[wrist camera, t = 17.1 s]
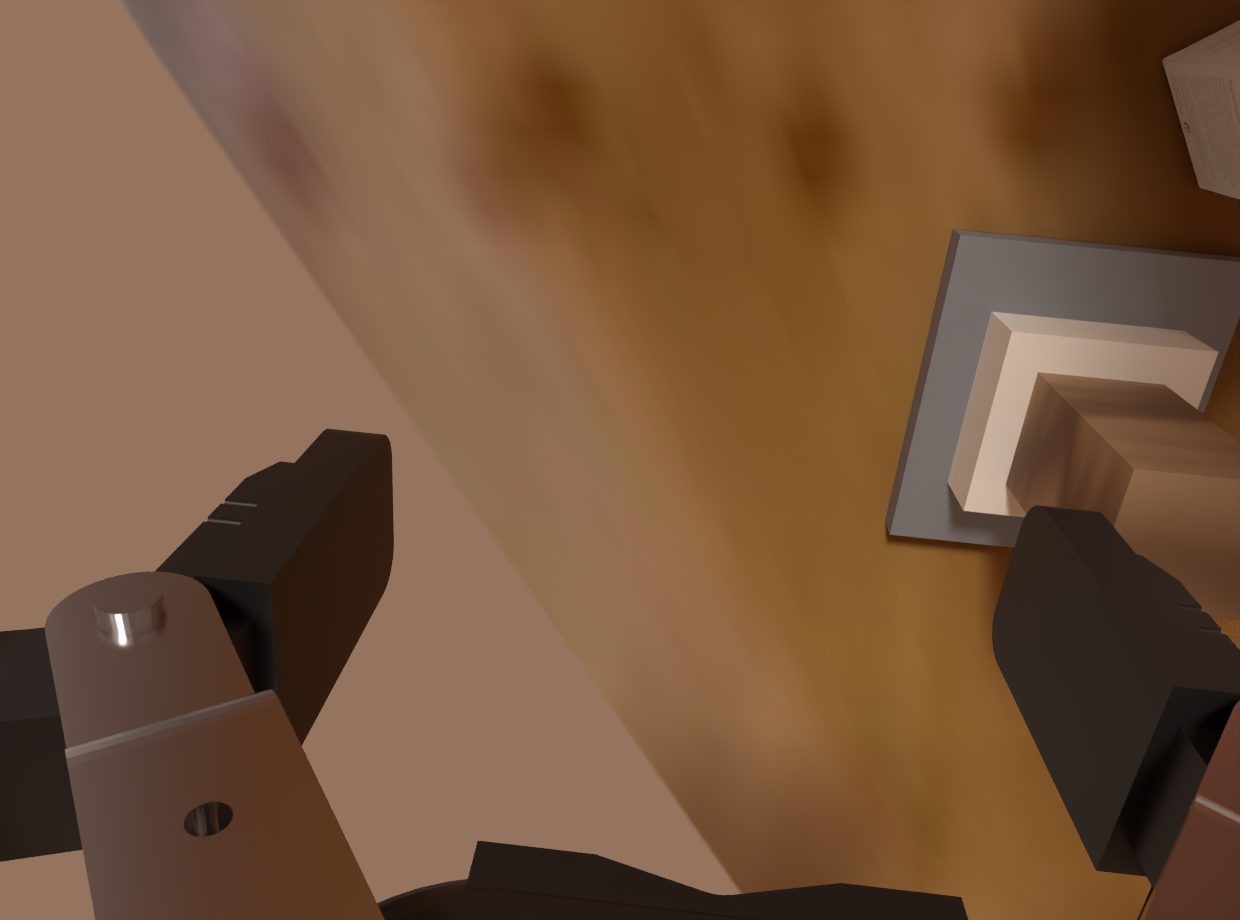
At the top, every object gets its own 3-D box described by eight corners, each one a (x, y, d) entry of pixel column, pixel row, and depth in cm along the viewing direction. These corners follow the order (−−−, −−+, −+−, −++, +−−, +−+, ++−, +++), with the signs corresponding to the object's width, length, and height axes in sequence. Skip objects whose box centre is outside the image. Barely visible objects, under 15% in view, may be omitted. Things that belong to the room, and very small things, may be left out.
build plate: (953, 229, 39) (979, 250, 36) (1243, 257, 39) (1300, 281, 35) (885, 522, 45) (902, 565, 42) (1137, 548, 45) (1176, 595, 41)
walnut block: (1037, 372, 38) (1134, 468, 29) (1164, 384, 37) (1296, 485, 29) (1005, 484, 40) (1087, 603, 32) (1125, 496, 40) (1238, 619, 31)
